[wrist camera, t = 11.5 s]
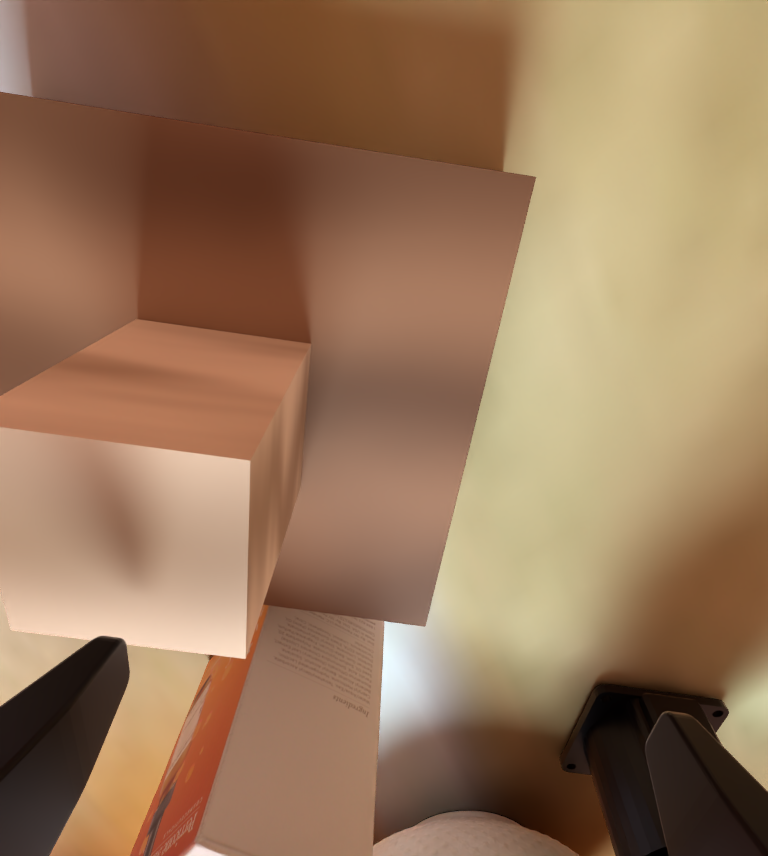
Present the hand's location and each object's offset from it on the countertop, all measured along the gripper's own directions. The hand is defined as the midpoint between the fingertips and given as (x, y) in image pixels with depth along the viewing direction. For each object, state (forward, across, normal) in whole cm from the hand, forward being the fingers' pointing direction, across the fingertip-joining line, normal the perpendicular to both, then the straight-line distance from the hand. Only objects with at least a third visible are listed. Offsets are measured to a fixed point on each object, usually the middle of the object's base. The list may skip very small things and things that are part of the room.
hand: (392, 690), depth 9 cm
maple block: (+7, +5, -1) cm, 9 cm away
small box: (+12, +4, +13) cm, 18 cm away
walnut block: (+12, +5, -1) cm, 13 cm away
